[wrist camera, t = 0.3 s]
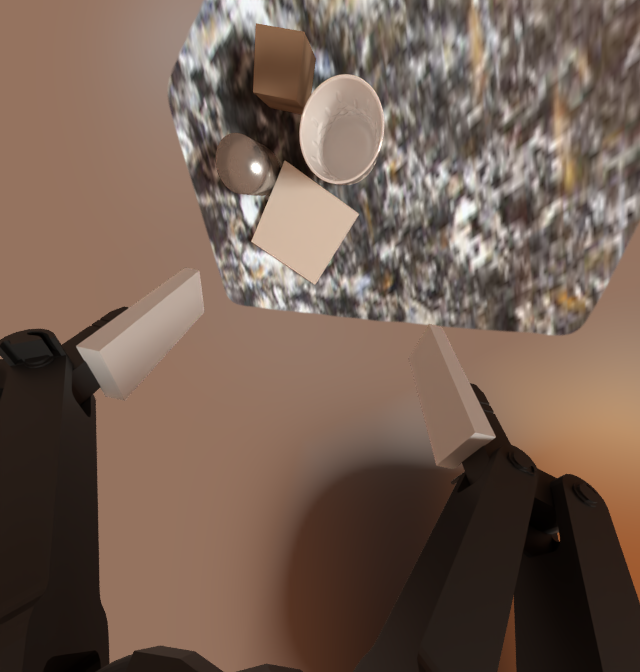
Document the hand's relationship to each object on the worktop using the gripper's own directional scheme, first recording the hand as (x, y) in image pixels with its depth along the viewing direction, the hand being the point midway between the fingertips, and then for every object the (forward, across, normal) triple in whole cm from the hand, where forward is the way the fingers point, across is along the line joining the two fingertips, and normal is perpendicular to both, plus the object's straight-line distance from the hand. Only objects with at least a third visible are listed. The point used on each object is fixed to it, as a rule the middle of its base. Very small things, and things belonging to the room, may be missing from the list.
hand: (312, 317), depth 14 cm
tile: (+26, -4, -3) cm, 27 cm away
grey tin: (+28, -12, +3) cm, 31 cm away
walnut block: (+29, -9, +12) cm, 33 cm away
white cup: (+28, 0, +7) cm, 29 cm away
